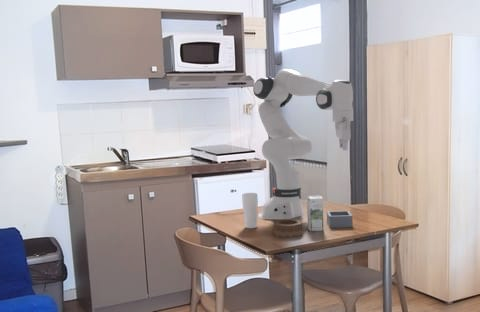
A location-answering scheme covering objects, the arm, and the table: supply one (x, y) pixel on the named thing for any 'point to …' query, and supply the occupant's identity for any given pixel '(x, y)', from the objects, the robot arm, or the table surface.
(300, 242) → the table surface
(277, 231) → the walnut round socket
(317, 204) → the syrup box
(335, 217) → the slate square socket
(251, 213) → the drinking glass
